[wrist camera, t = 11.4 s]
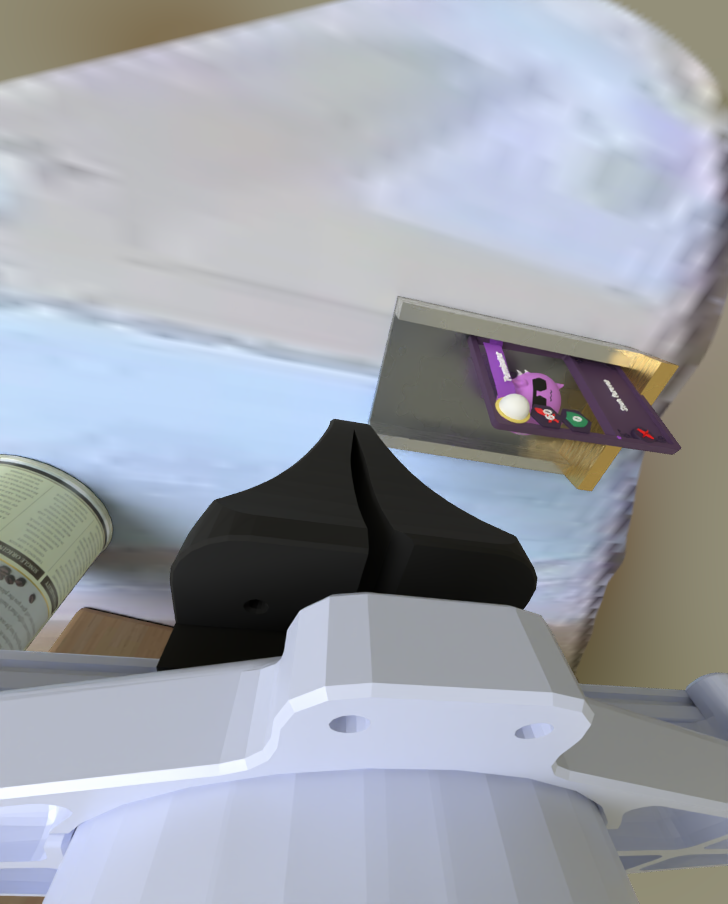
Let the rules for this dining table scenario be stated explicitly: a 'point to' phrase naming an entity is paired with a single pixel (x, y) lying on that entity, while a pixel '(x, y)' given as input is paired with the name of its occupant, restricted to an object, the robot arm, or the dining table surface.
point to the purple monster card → (538, 401)
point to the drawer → (461, 400)
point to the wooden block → (104, 638)
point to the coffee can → (43, 544)
